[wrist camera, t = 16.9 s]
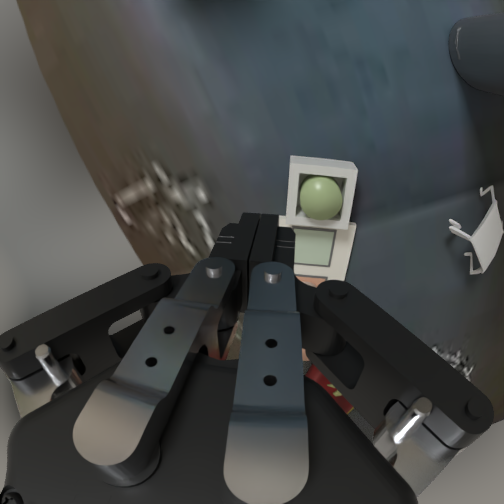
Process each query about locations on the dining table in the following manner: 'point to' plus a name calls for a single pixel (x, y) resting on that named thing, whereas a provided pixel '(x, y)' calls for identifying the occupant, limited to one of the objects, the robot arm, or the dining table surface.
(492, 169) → the dining table surface
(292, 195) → the button housing
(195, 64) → the dining table surface
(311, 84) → the dining table surface
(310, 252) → the colouring board
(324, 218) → the button
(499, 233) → the origami figure
